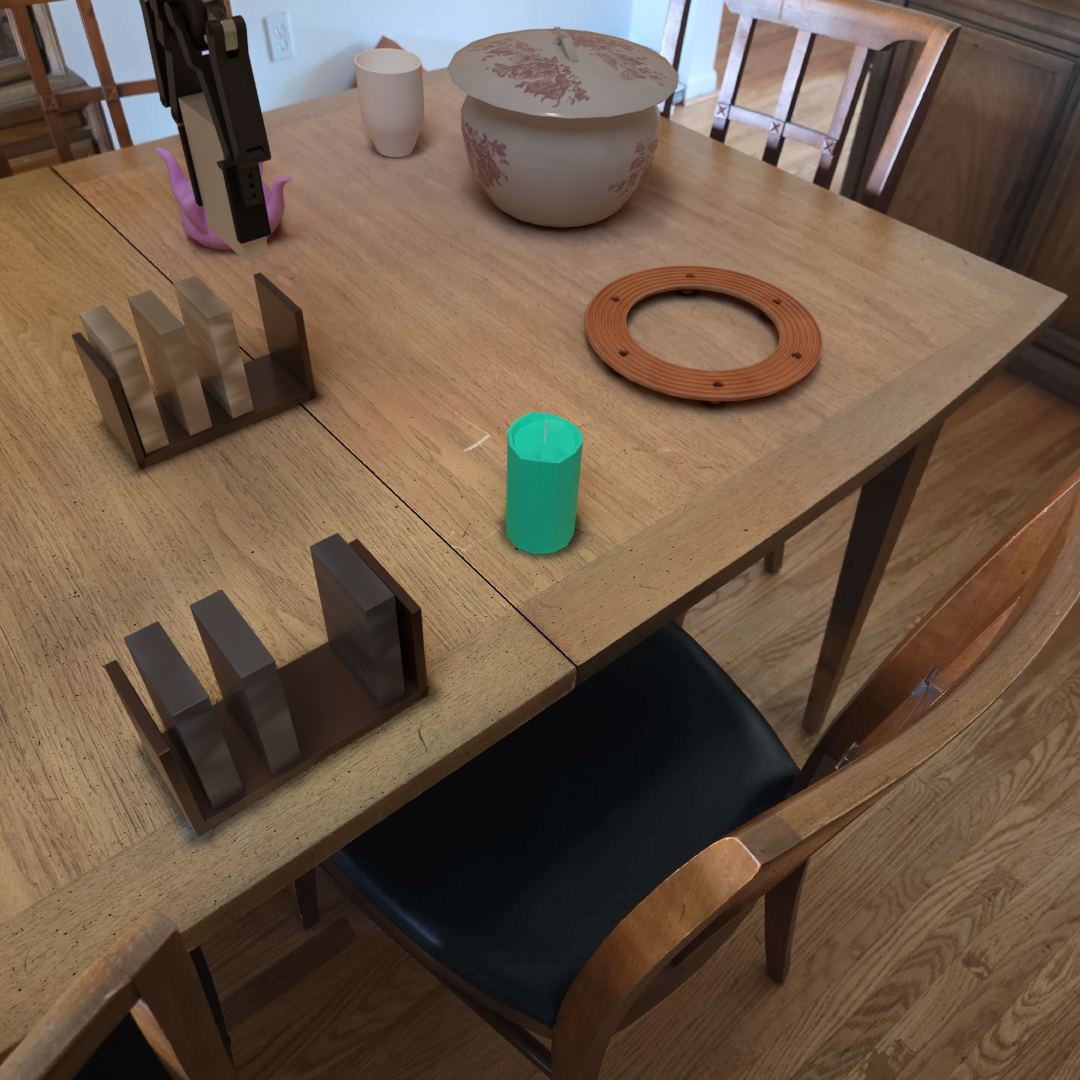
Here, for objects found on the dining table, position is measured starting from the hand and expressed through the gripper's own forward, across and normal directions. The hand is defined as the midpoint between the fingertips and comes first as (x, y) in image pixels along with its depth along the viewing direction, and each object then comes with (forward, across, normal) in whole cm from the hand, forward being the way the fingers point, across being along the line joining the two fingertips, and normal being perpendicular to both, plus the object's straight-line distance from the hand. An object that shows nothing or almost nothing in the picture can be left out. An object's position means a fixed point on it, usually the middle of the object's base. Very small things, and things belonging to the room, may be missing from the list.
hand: (232, 218), depth 78 cm
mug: (+19, +41, -42) cm, 61 cm away
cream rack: (+18, +1, +6) cm, 19 cm away
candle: (+19, -30, -10) cm, 37 cm away
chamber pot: (+19, +15, -50) cm, 55 cm away
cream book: (+2, 0, 0) cm, 2 cm away
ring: (+19, -19, -42) cm, 49 cm away
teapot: (+19, +31, -12) cm, 38 cm away
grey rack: (+18, -35, +17) cm, 43 cm away
